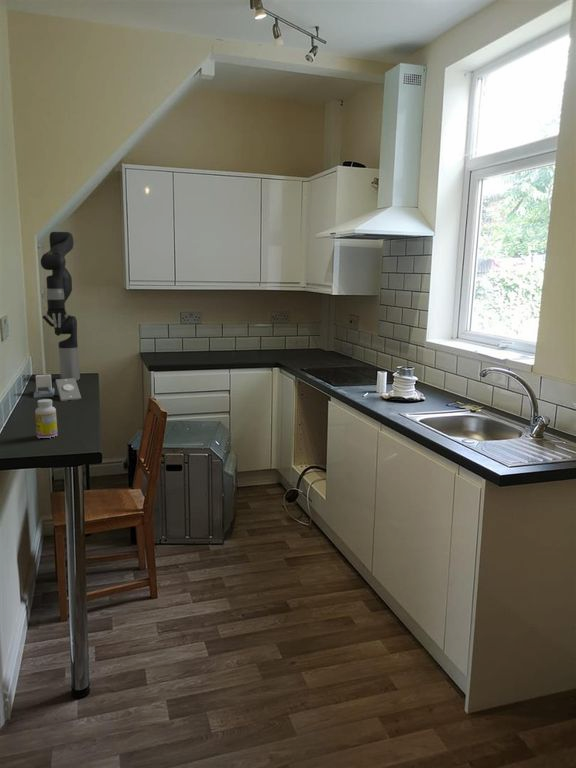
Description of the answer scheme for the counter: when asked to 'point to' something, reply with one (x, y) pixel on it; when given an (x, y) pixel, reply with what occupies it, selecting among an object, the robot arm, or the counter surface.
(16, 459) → the counter surface
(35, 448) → the counter surface
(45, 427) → the supplement bottle
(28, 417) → the counter surface
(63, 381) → the light switch
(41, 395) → the plate
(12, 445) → the counter surface
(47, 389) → the din rail
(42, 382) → the block
